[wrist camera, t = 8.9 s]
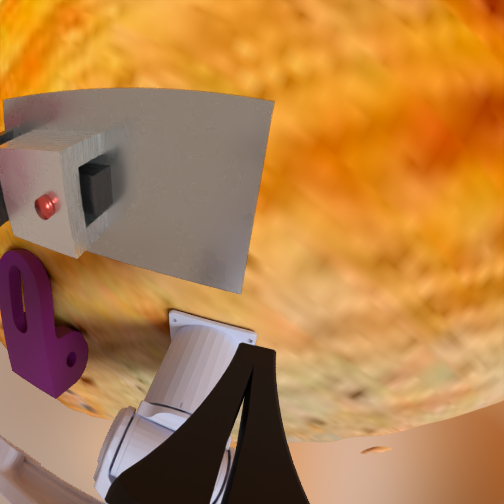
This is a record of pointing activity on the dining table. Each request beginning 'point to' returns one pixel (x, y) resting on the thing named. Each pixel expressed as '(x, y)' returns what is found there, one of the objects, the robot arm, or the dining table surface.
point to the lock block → (50, 189)
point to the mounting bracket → (37, 327)
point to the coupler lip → (163, 173)
